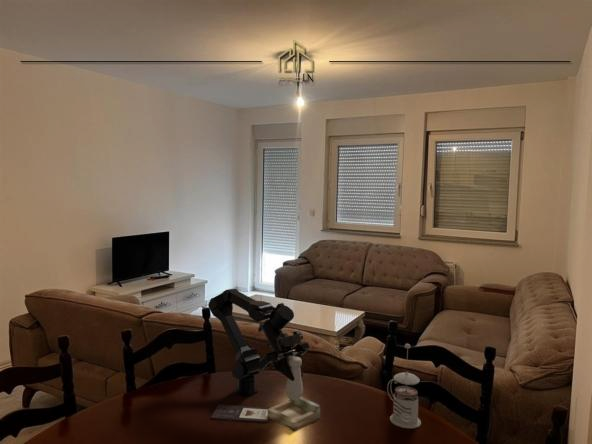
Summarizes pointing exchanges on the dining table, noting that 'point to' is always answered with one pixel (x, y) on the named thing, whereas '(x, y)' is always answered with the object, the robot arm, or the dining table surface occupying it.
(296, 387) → the salt shaker
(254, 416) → the chocolate bar
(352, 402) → the dining table surface
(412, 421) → the french press
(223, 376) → the dining table surface
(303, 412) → the maple tray
